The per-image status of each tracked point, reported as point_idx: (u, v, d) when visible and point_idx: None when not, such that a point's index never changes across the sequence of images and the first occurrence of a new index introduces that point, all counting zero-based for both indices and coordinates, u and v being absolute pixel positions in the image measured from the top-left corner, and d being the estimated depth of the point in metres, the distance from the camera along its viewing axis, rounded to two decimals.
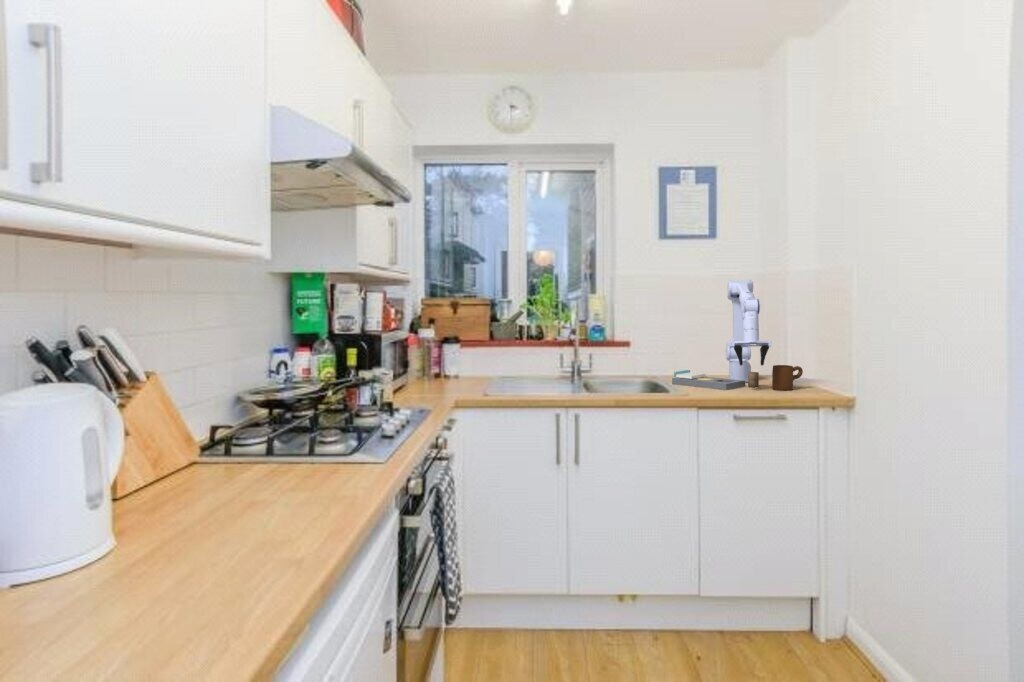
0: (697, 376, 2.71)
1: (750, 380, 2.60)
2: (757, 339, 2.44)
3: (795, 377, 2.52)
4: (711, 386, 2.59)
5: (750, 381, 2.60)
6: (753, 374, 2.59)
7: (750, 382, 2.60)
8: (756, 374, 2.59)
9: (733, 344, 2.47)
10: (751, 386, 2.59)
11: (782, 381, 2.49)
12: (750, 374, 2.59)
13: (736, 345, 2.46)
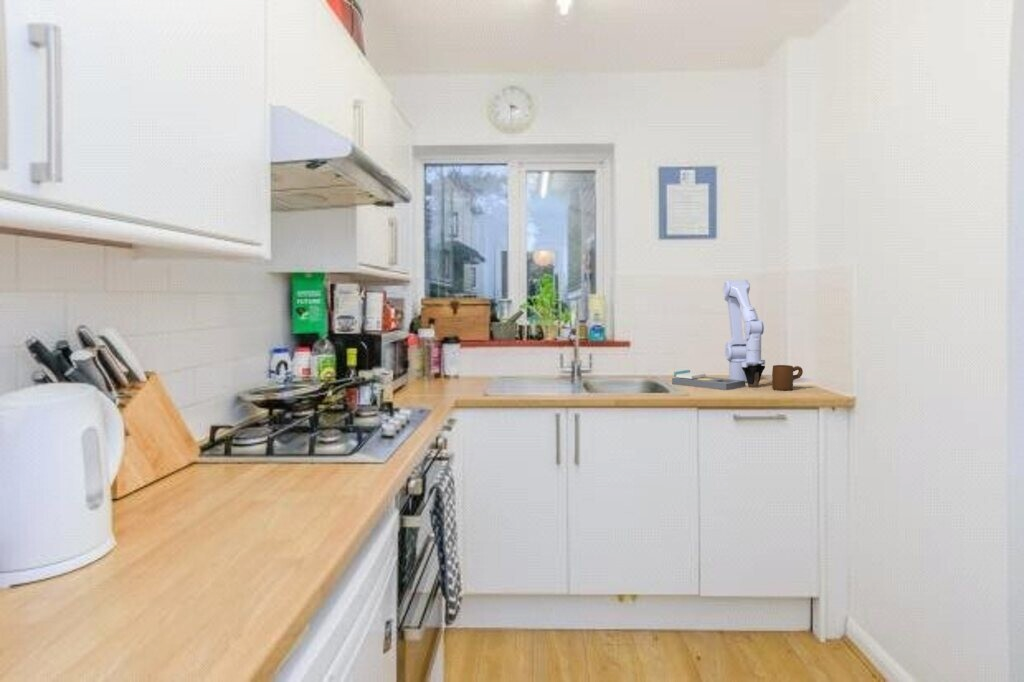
0: (697, 376, 2.71)
1: None
2: None
3: (795, 377, 2.52)
4: (711, 386, 2.59)
5: None
6: None
7: None
8: (756, 374, 2.59)
9: (746, 365, 2.55)
10: (751, 386, 2.59)
11: (782, 381, 2.49)
12: None
13: (750, 365, 2.57)
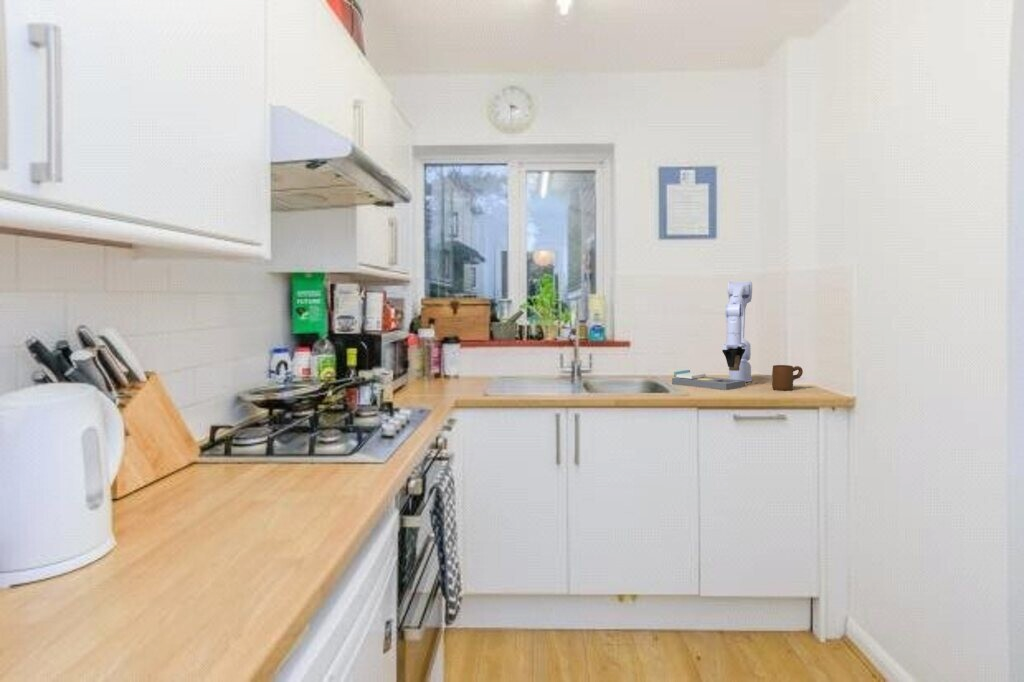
0: (697, 376, 2.71)
1: None
2: None
3: (795, 377, 2.52)
4: (711, 386, 2.59)
5: None
6: None
7: None
8: (737, 357, 2.59)
9: (727, 348, 2.55)
10: (732, 369, 2.59)
11: (782, 381, 2.49)
12: None
13: (730, 348, 2.57)
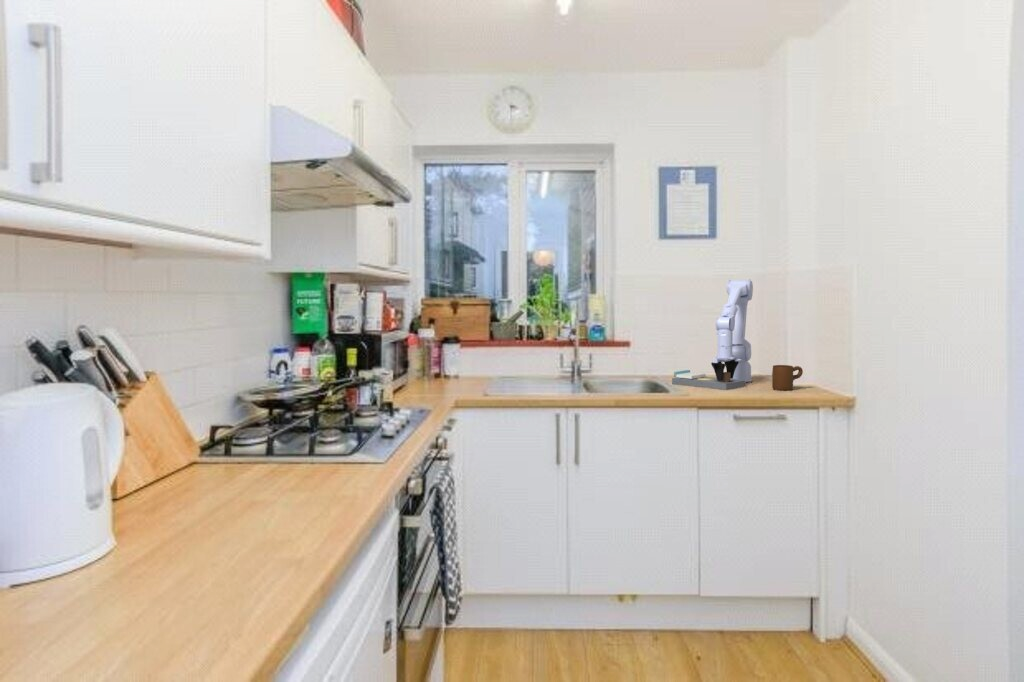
0: (697, 376, 2.71)
1: (722, 380, 2.60)
2: None
3: (795, 377, 2.52)
4: (711, 386, 2.59)
5: (722, 381, 2.61)
6: (725, 374, 2.60)
7: None
8: (728, 374, 2.60)
9: (717, 361, 2.56)
10: None
11: (782, 381, 2.49)
12: None
13: (719, 362, 2.57)
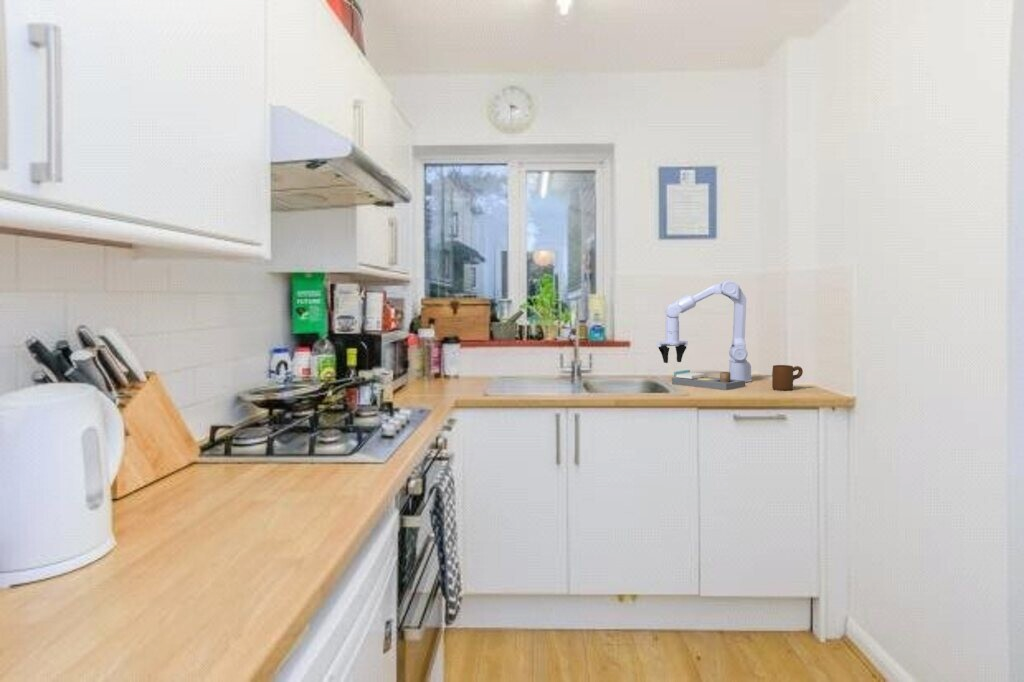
0: (697, 376, 2.71)
1: (722, 380, 2.60)
2: (678, 340, 2.80)
3: (795, 377, 2.52)
4: (711, 386, 2.59)
5: (722, 381, 2.61)
6: (725, 374, 2.60)
7: None
8: (728, 374, 2.60)
9: (660, 345, 2.78)
10: None
11: (782, 381, 2.49)
12: (722, 374, 2.60)
13: (663, 345, 2.78)
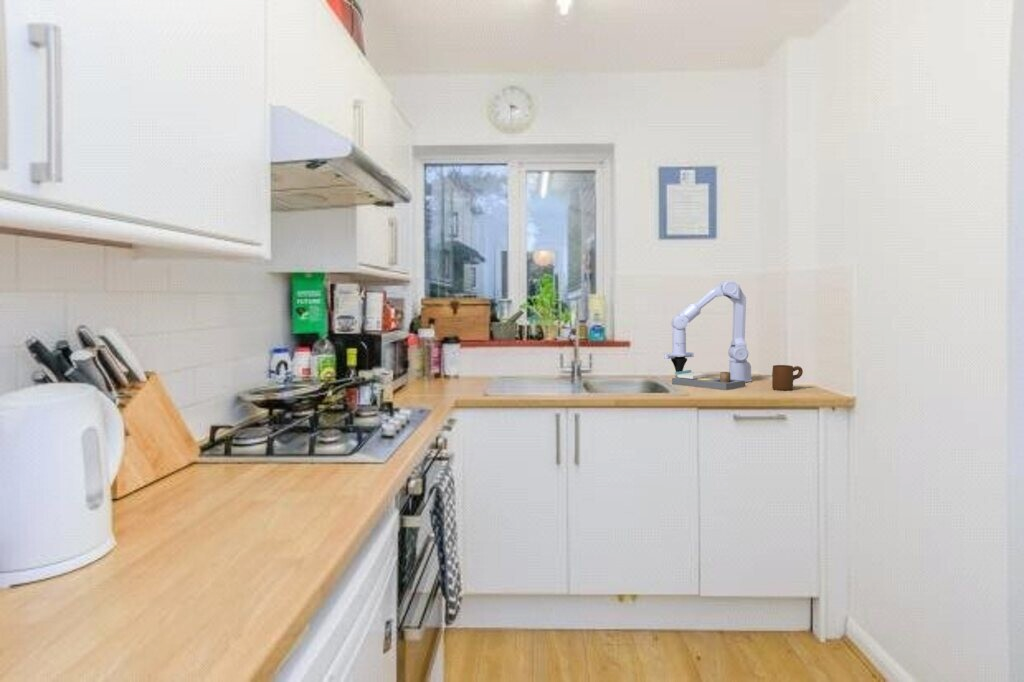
0: (698, 376, 2.70)
1: (722, 380, 2.60)
2: (685, 352, 2.78)
3: (795, 377, 2.52)
4: (711, 386, 2.59)
5: (722, 381, 2.61)
6: (725, 374, 2.60)
7: None
8: (728, 374, 2.60)
9: (668, 357, 2.75)
10: None
11: (782, 381, 2.49)
12: (722, 374, 2.60)
13: (676, 357, 2.77)
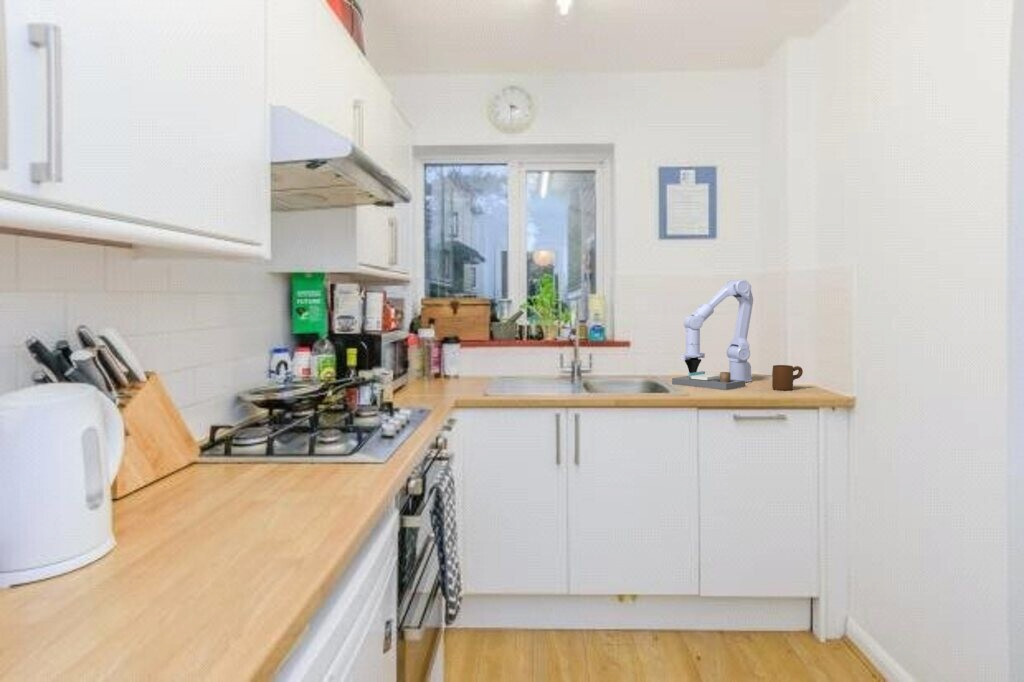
0: (713, 378, 2.65)
1: (722, 380, 2.60)
2: None
3: (795, 377, 2.52)
4: (711, 386, 2.59)
5: (722, 381, 2.61)
6: (725, 374, 2.60)
7: None
8: (728, 374, 2.60)
9: (685, 358, 2.68)
10: None
11: (782, 381, 2.49)
12: (722, 374, 2.60)
13: (691, 358, 2.71)
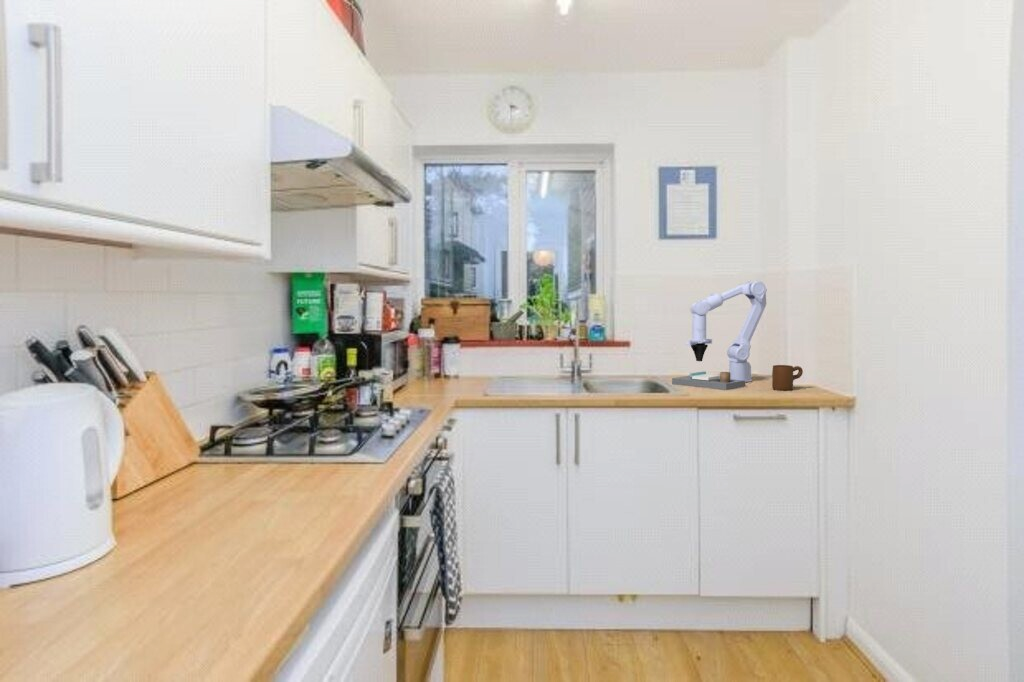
0: (714, 378, 2.65)
1: (722, 380, 2.60)
2: None
3: (795, 377, 2.52)
4: (711, 386, 2.59)
5: (722, 381, 2.61)
6: (725, 374, 2.60)
7: None
8: (728, 374, 2.60)
9: (690, 343, 2.70)
10: None
11: (782, 381, 2.49)
12: (722, 374, 2.60)
13: (697, 343, 2.73)
